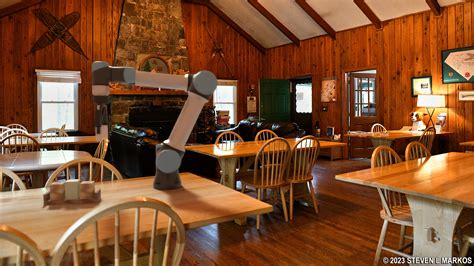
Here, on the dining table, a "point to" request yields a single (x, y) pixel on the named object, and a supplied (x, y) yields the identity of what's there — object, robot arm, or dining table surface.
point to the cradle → (86, 196)
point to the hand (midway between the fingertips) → (102, 139)
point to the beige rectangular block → (72, 189)
